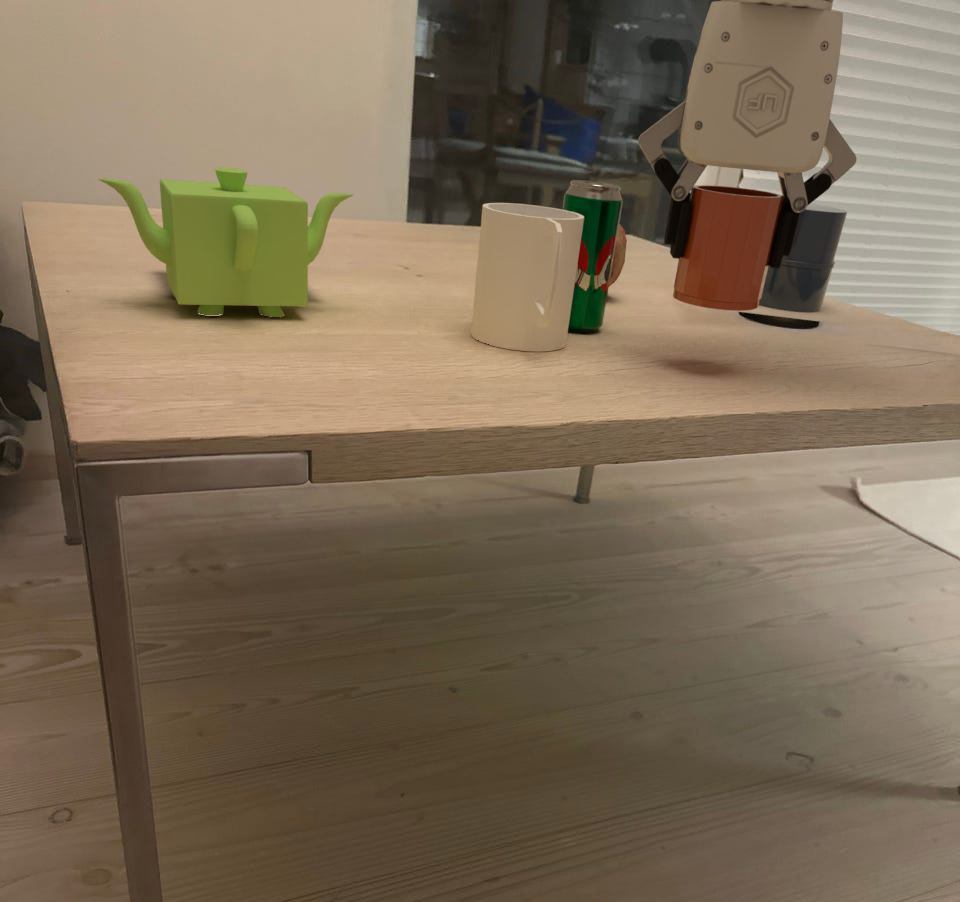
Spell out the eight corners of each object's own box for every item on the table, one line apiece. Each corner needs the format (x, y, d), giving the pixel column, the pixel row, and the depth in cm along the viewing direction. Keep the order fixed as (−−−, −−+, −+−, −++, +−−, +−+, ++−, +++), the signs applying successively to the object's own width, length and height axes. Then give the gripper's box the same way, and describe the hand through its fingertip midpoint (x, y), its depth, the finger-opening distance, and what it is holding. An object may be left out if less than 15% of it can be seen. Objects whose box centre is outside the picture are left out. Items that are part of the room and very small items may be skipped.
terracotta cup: (750, 296, 77) (774, 190, 73) (765, 314, 71) (791, 200, 67) (669, 288, 77) (687, 182, 73) (677, 305, 71) (698, 191, 67)
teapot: (109, 305, 75) (93, 158, 69) (204, 282, 86) (197, 154, 80) (275, 337, 71) (273, 185, 66) (352, 309, 82) (355, 176, 77)
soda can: (592, 322, 88) (615, 182, 81) (608, 335, 83) (632, 189, 77) (541, 319, 86) (559, 177, 80) (554, 332, 82) (574, 184, 76)
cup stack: (808, 315, 102) (838, 206, 96) (826, 332, 95) (860, 216, 89) (732, 306, 102) (758, 197, 96) (745, 322, 95) (773, 205, 89)
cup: (494, 362, 72) (509, 222, 66) (461, 324, 81) (472, 200, 76) (593, 366, 74) (615, 230, 68) (550, 328, 83) (566, 207, 78)
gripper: (657, -34, 60) (615, 257, 69) (925, -10, 60) (846, 280, 69) (649, -22, 67) (611, 243, 76) (891, -1, 66) (823, 263, 75)
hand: (723, 258), depth 72 cm, fingers closed on terracotta cup, 6 cm apart
